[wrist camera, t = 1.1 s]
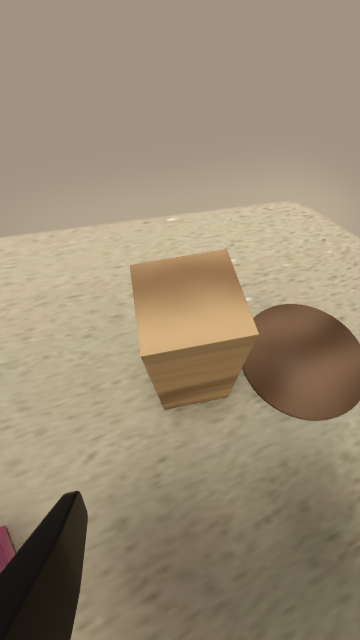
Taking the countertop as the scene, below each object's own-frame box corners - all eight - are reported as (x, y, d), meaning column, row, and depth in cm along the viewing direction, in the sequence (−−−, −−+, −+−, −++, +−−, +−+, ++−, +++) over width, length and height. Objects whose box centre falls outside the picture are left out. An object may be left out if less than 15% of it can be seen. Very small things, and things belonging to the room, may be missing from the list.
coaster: (386, 353, 24) (389, 351, 23) (326, 451, 20) (329, 451, 20) (281, 288, 28) (283, 285, 27) (215, 360, 24) (216, 358, 24)
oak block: (227, 396, 22) (258, 334, 12) (164, 409, 22) (140, 356, 12) (211, 340, 25) (226, 249, 15) (155, 350, 25) (129, 265, 14)
